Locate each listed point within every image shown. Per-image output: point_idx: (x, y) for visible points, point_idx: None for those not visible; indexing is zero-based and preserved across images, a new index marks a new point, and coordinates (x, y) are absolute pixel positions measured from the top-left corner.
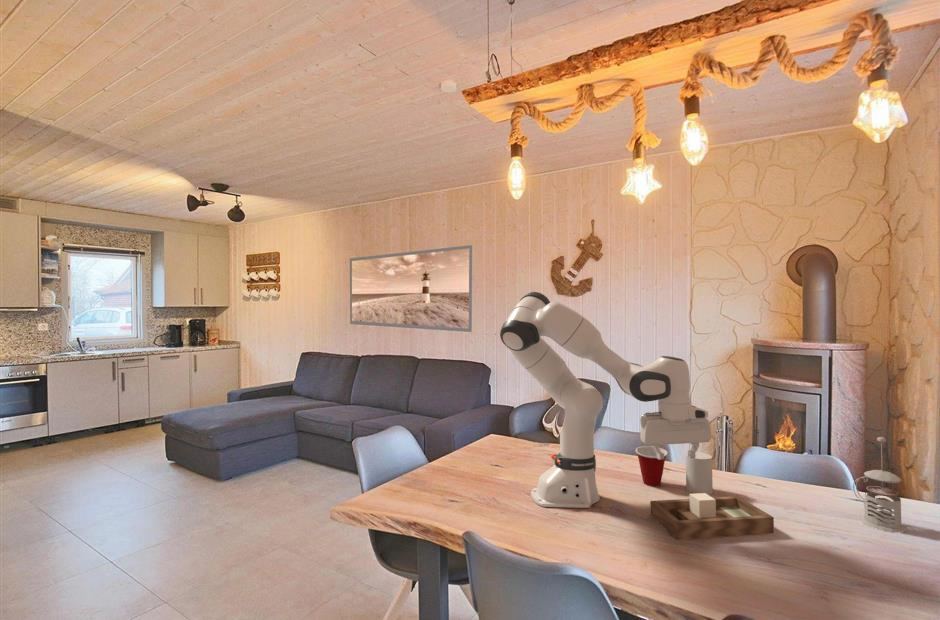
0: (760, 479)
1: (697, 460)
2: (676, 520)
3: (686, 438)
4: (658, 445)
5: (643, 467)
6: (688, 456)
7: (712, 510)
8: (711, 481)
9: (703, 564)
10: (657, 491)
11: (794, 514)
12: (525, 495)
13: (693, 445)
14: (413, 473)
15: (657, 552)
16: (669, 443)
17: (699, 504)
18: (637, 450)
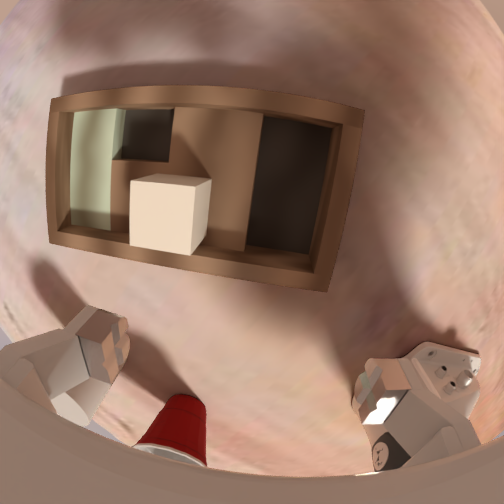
0: (6, 328)
1: (70, 391)
2: (352, 127)
3: (70, 495)
4: (463, 446)
5: (203, 439)
6: (128, 344)
7: (158, 177)
8: None
9: (361, 10)
10: (198, 377)
11: (5, 188)
12: None
13: (40, 383)
14: (490, 440)
15: (432, 90)
16: (393, 477)
17: (199, 184)
18: None
